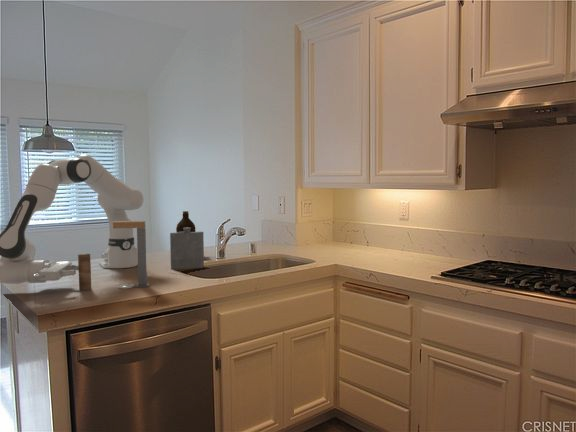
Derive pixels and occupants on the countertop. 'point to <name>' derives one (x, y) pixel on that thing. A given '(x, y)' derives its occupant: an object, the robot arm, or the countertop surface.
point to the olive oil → (185, 223)
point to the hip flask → (187, 249)
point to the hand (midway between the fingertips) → (78, 270)
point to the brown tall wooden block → (84, 272)
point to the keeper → (140, 249)
